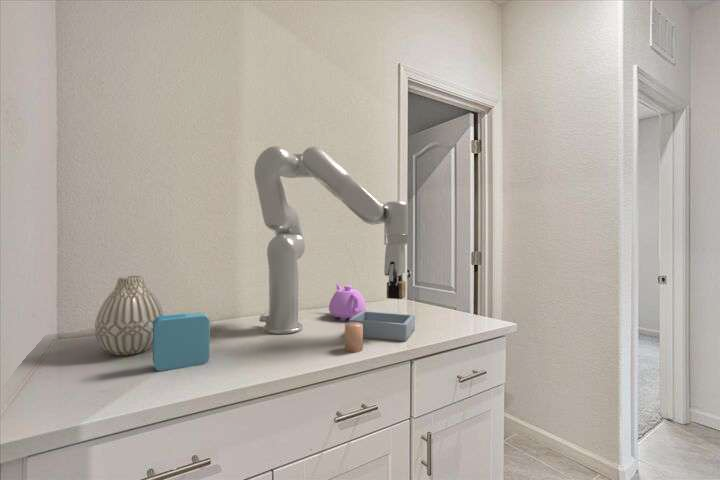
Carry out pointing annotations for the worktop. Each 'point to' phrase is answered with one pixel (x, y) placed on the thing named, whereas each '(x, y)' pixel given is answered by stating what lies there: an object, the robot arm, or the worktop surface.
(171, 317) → the data package
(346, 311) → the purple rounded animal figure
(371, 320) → the tote
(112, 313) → the vase
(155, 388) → the worktop surface
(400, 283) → the wood cube
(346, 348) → the terracotta canister
